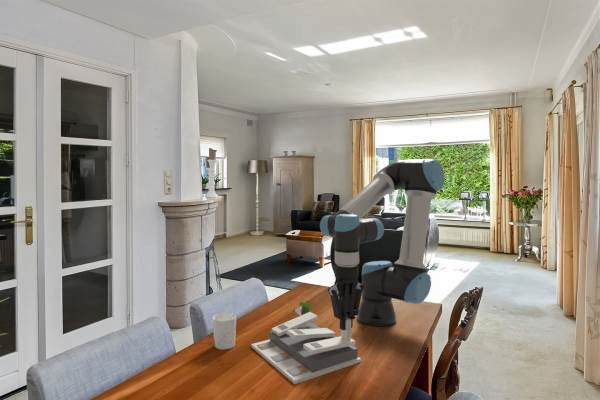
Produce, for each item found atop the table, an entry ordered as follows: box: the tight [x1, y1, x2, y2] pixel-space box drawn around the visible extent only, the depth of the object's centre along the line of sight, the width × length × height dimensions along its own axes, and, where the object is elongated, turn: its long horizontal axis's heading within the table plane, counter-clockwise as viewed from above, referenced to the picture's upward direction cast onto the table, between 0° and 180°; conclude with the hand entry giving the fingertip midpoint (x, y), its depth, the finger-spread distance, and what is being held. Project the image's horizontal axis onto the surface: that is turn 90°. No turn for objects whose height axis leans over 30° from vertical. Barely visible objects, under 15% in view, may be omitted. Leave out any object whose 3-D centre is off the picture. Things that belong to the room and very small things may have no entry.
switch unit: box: [250, 322, 362, 385], centre depth 126 cm, size 24×28×4 cm
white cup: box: [212, 312, 237, 351], centre depth 133 cm, size 8×8×10 cm
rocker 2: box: [286, 327, 336, 339], centre depth 127 cm, size 16×5×1 cm, turn 123°
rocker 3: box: [303, 335, 356, 354], centre depth 119 cm, size 16×5×1 cm, turn 122°
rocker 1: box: [271, 311, 319, 337], centre depth 136 cm, size 16×5×1 cm, turn 122°
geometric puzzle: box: [294, 301, 315, 317], centre depth 157 cm, size 7×7×8 cm
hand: (346, 338), depth 122 cm, fingers closed
